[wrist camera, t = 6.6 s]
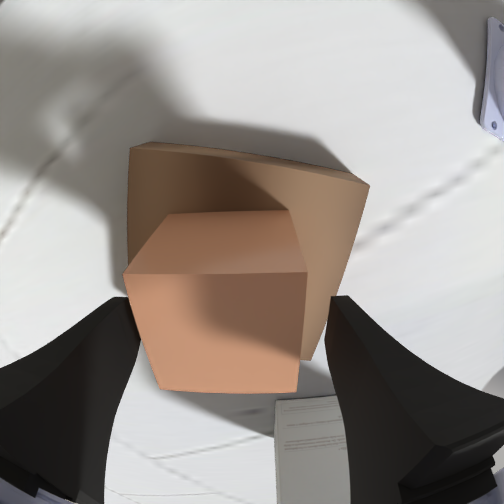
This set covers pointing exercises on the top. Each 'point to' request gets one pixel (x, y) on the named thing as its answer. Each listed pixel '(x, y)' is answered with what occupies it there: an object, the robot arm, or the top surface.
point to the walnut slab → (252, 207)
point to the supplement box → (311, 452)
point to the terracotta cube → (221, 301)
